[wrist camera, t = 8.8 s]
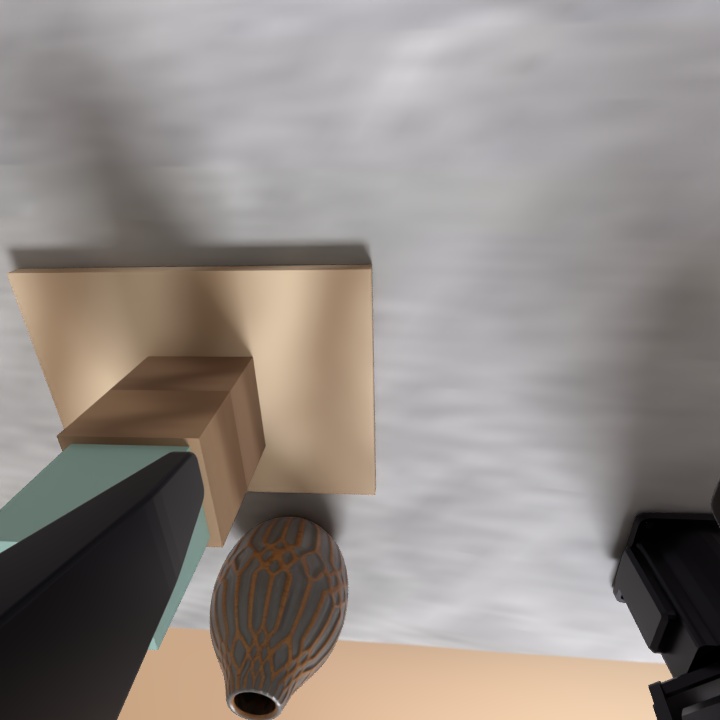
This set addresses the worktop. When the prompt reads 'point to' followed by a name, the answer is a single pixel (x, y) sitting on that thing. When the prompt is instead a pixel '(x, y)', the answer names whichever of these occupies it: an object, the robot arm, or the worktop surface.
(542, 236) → the worktop surface
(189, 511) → the robot arm
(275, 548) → the vase
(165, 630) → the cube
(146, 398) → the tower top
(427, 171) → the worktop surface
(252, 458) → the tower base
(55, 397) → the beech board
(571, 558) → the worktop surface
